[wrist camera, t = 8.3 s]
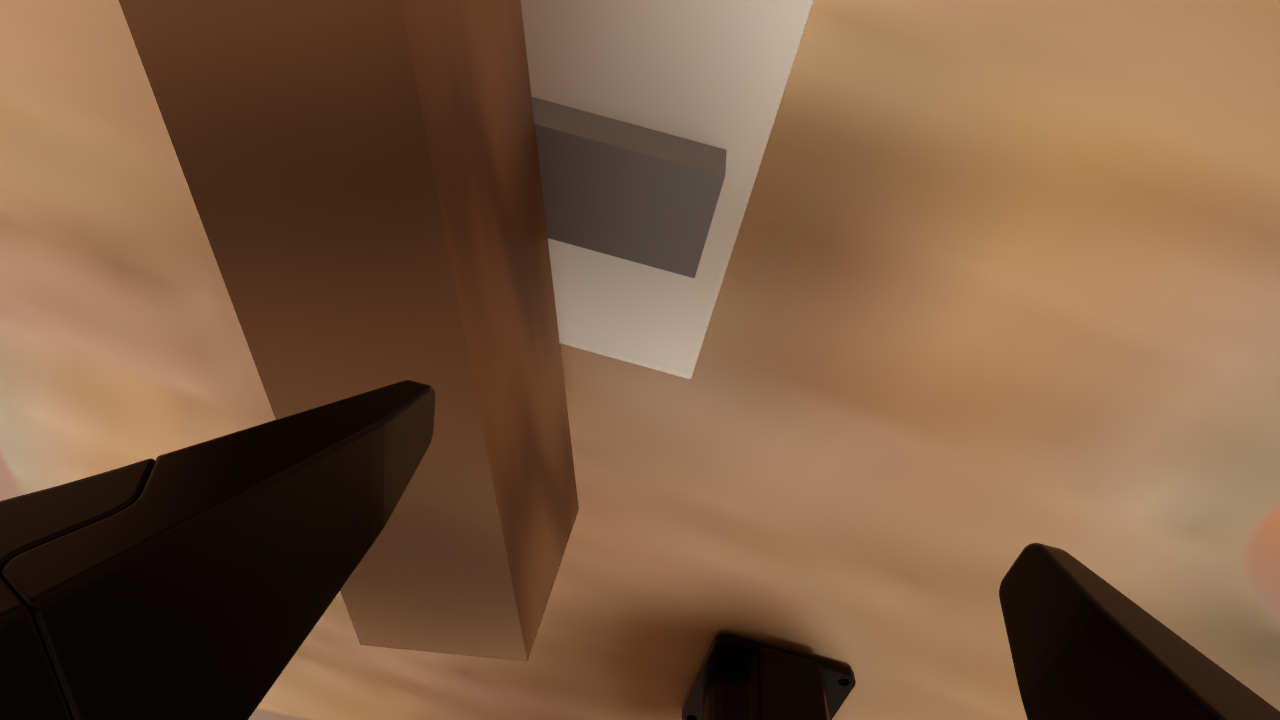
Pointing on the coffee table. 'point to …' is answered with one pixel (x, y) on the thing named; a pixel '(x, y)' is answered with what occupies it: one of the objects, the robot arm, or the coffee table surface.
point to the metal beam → (391, 272)
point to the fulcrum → (651, 158)
